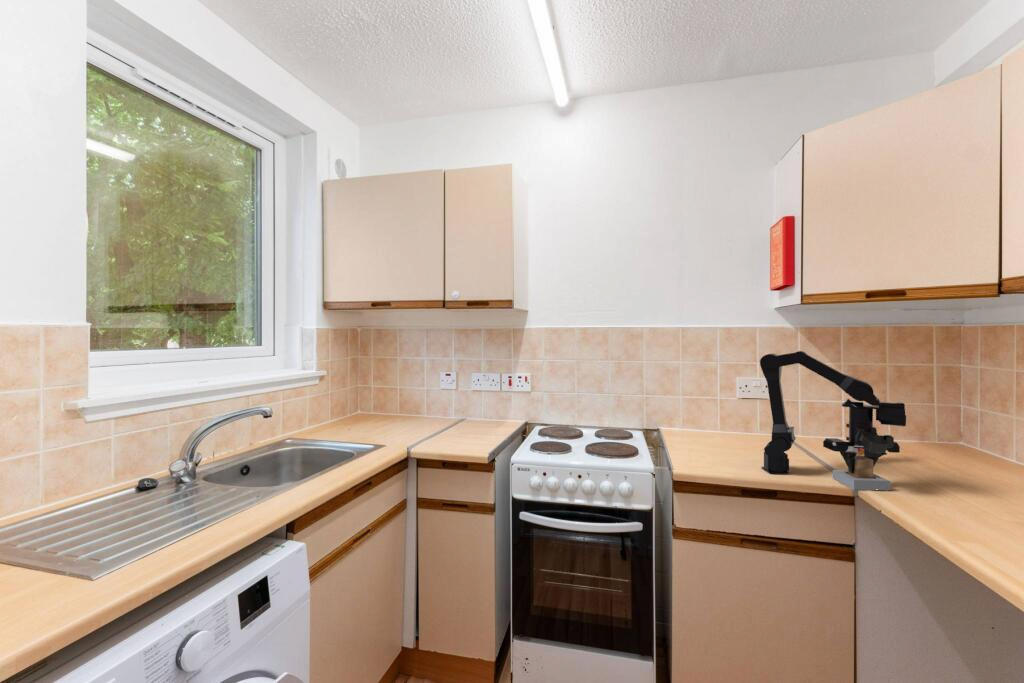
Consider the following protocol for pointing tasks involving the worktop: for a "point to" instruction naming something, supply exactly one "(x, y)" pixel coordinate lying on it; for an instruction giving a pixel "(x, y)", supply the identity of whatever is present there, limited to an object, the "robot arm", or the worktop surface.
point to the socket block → (861, 481)
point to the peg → (862, 467)
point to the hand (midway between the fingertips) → (860, 473)
